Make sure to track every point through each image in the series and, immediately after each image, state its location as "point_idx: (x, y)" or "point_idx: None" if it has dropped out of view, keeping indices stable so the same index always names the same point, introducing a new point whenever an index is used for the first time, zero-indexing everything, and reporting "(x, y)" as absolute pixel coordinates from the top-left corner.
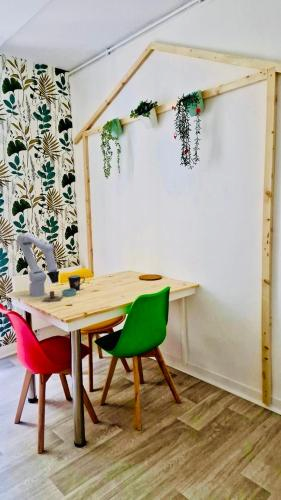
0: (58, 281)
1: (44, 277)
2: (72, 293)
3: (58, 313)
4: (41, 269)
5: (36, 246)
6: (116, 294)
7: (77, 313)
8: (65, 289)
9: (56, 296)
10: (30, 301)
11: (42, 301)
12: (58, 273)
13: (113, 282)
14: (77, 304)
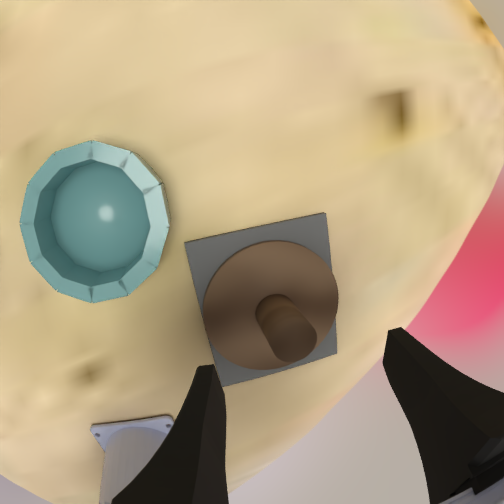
0: (203, 370)
1: None
2: (140, 158)
3: (499, 146)
4: None
5: None
6: None
7: (490, 56)
8: (60, 283)
9: (207, 306)
10: (293, 427)
11: (319, 354)
12: (171, 484)
13: None
14: (380, 56)
